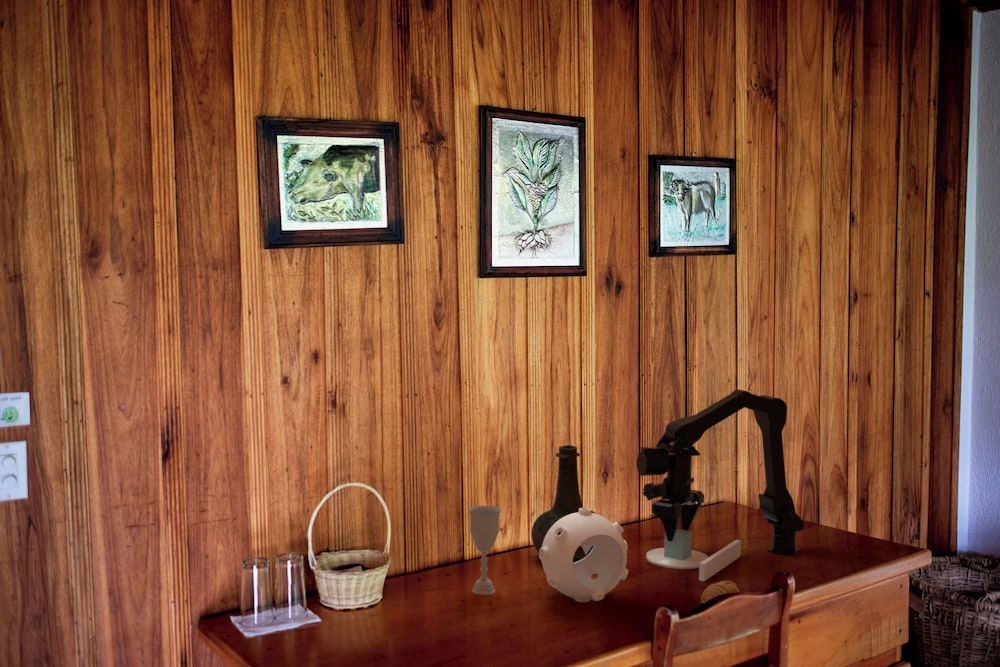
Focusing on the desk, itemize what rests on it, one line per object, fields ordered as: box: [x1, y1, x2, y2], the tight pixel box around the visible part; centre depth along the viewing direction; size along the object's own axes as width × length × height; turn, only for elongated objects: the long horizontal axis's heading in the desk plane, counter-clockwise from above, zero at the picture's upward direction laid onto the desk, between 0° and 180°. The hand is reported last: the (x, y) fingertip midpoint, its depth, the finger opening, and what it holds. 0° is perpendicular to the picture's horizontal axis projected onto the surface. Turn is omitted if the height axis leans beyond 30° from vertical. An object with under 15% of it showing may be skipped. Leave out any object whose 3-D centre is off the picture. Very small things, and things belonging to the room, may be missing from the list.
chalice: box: [467, 505, 502, 596], centre depth 204 cm, size 7×7×18 cm
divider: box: [698, 539, 742, 582], centre depth 223 cm, size 24×1×4 cm, turn 146°
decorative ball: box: [538, 507, 629, 603], centre depth 199 cm, size 20×17×20 cm
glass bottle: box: [531, 444, 597, 563], centre depth 226 cm, size 18×18×28 cm
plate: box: [645, 547, 709, 570], centre depth 229 cm, size 15×15×1 cm
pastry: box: [700, 580, 741, 604], centre depth 200 cm, size 9×7×4 cm
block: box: [663, 528, 693, 561], centre depth 229 cm, size 5×5×6 cm
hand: (677, 537), depth 229 cm, fingers open, 9 cm apart
